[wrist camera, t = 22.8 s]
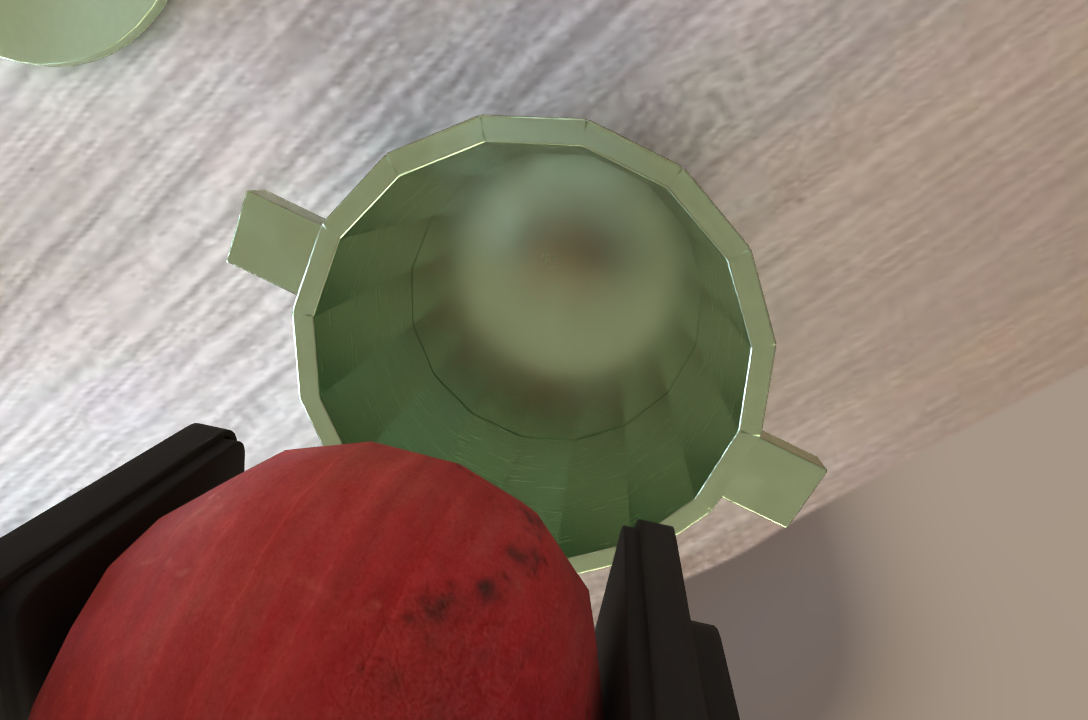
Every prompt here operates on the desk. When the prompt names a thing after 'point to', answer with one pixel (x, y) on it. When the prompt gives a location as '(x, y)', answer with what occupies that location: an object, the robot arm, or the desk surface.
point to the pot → (539, 327)
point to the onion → (336, 603)
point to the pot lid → (71, 29)
